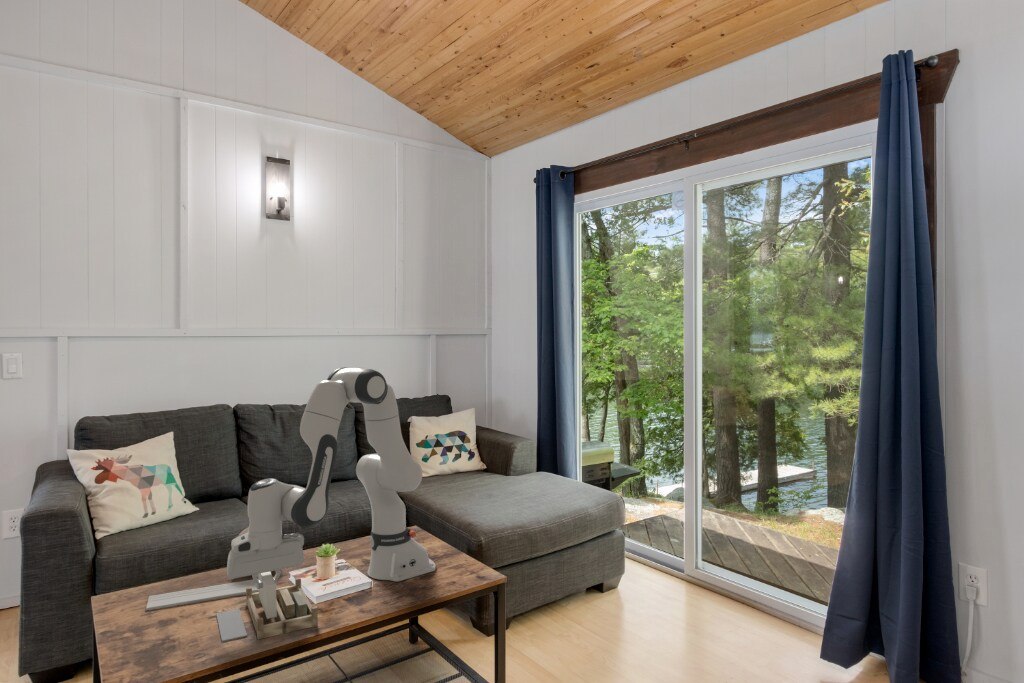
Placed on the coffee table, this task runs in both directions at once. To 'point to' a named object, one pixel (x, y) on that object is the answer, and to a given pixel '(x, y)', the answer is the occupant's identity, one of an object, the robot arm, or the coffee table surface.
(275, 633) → the rack
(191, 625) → the coffee table surface
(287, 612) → the offcuts
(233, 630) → the mat
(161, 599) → the baseboard molding
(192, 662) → the coffee table surface
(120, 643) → the coffee table surface
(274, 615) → the cream rectangular board
